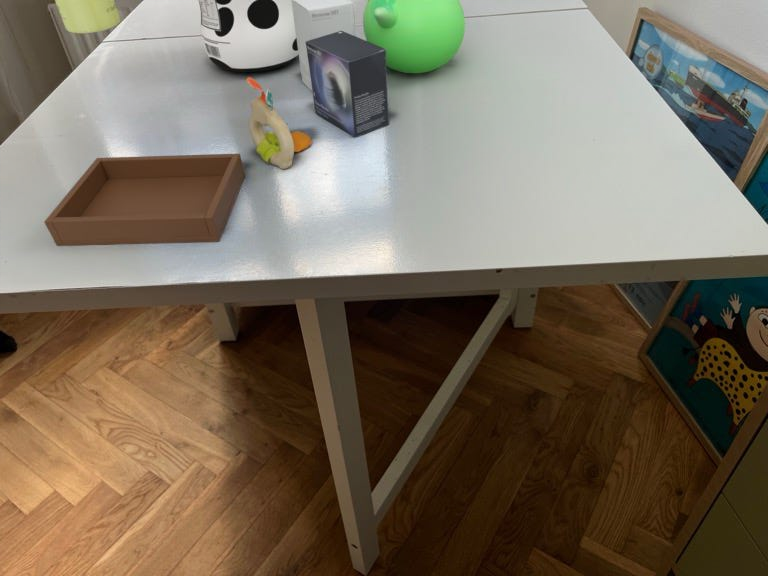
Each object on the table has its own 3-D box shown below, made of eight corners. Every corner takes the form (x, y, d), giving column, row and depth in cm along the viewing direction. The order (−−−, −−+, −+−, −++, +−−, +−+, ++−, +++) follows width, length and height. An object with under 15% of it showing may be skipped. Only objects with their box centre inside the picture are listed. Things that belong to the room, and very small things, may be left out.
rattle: (333, 160, 71) (322, 69, 63) (274, 179, 68) (255, 87, 60) (307, 138, 75) (294, 52, 68) (251, 156, 72) (231, 67, 65)
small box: (311, 114, 81) (301, 39, 74) (348, 102, 84) (342, 29, 77) (353, 139, 75) (346, 60, 68) (391, 124, 78) (388, 47, 71)
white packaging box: (317, 98, 86) (306, 9, 77) (301, 82, 91) (289, -2, 82) (360, 88, 88) (354, 1, 80) (343, 73, 93) (335, -10, 85)
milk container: (315, 45, 104) (302, -67, 92) (295, 80, 92) (277, -44, 80) (226, 46, 106) (202, -64, 94) (195, 80, 93) (162, -41, 81)
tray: (56, 245, 59) (43, 221, 57) (106, 180, 69) (96, 157, 67) (219, 241, 58) (212, 217, 56) (245, 175, 69) (240, 153, 66)
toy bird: (480, 78, 89) (487, -24, 79) (381, 96, 85) (376, -9, 75) (434, 45, 102) (436, -47, 92) (347, 59, 98) (339, -35, 88)
